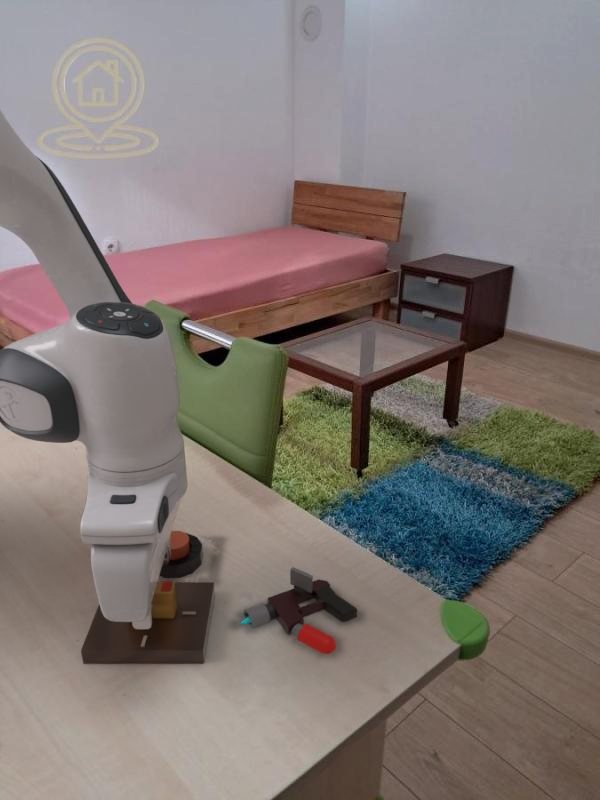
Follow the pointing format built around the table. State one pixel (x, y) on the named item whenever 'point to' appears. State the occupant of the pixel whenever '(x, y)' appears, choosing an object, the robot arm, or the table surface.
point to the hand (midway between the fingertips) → (153, 590)
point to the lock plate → (156, 633)
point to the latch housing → (184, 561)
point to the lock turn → (164, 600)
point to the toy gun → (302, 610)
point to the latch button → (179, 545)
